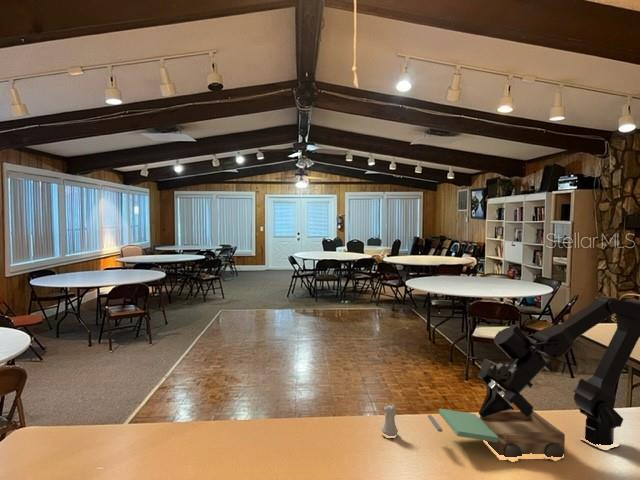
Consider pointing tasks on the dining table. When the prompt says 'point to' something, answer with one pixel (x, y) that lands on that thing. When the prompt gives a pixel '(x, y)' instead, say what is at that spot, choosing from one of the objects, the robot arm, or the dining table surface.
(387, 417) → the rook chess piece
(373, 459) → the dining table surface
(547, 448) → the cart
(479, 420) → the panel
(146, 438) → the dining table surface
